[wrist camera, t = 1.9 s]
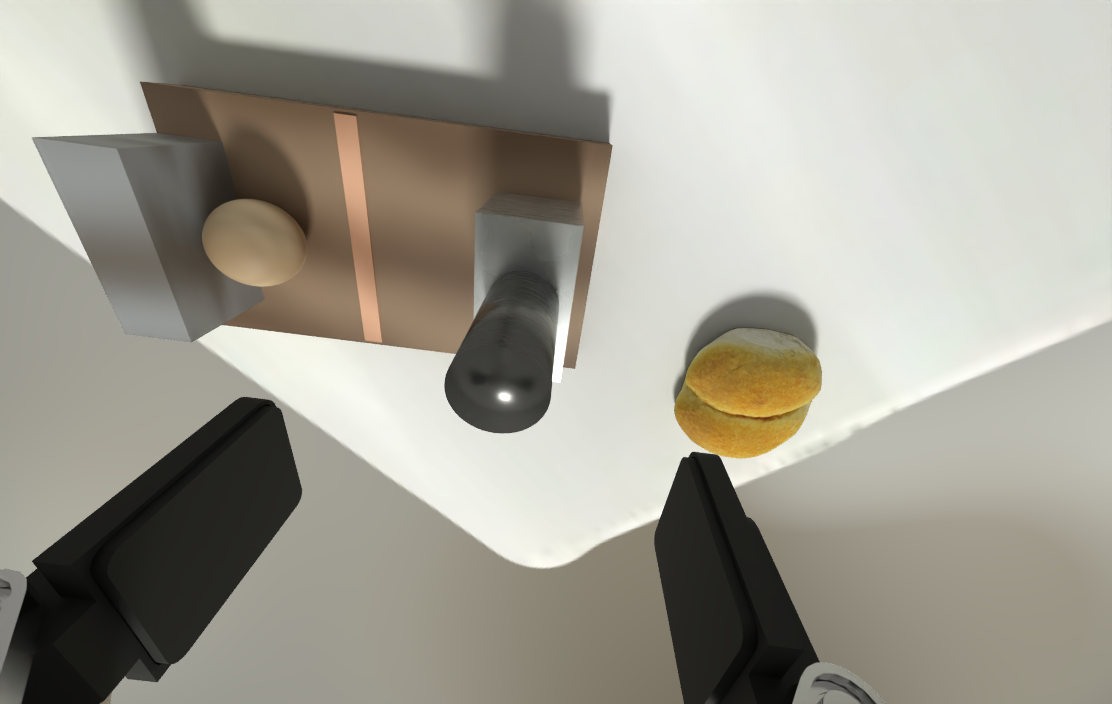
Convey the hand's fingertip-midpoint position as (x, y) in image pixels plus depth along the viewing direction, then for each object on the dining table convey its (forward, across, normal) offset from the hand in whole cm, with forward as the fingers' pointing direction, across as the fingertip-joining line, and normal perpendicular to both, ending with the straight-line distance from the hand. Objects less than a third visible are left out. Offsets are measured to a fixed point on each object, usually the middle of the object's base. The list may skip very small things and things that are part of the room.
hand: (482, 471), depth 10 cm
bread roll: (+16, -14, +6) cm, 22 cm away
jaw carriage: (+13, 0, -1) cm, 13 cm away
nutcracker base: (+16, +8, -1) cm, 17 cm away
